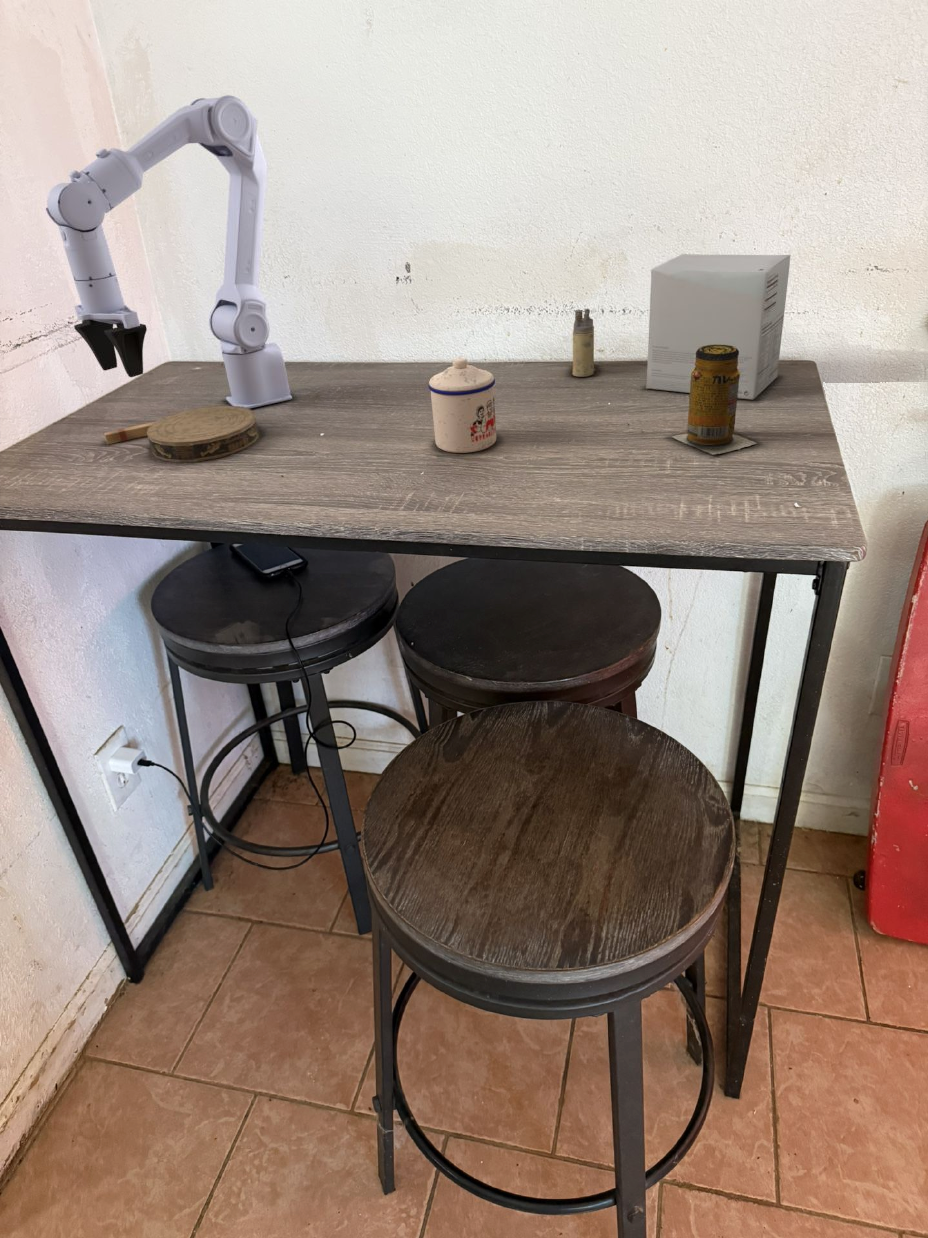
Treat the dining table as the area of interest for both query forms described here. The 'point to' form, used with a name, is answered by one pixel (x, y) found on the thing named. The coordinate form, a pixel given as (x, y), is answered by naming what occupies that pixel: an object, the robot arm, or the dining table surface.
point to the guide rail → (127, 433)
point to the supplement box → (717, 317)
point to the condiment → (714, 401)
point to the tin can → (203, 433)
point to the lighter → (583, 344)
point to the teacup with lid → (463, 408)
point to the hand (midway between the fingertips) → (122, 371)
